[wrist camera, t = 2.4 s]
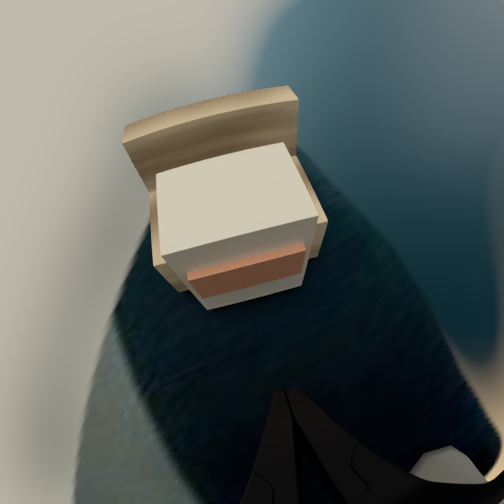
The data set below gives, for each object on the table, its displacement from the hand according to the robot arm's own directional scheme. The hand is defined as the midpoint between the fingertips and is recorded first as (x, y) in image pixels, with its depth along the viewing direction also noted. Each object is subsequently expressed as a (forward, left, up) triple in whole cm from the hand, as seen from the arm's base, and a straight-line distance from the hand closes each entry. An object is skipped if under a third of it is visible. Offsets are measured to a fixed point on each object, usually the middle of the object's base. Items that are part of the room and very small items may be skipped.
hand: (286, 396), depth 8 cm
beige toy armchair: (+12, 0, -10) cm, 16 cm away
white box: (+9, 0, -9) cm, 13 cm away
